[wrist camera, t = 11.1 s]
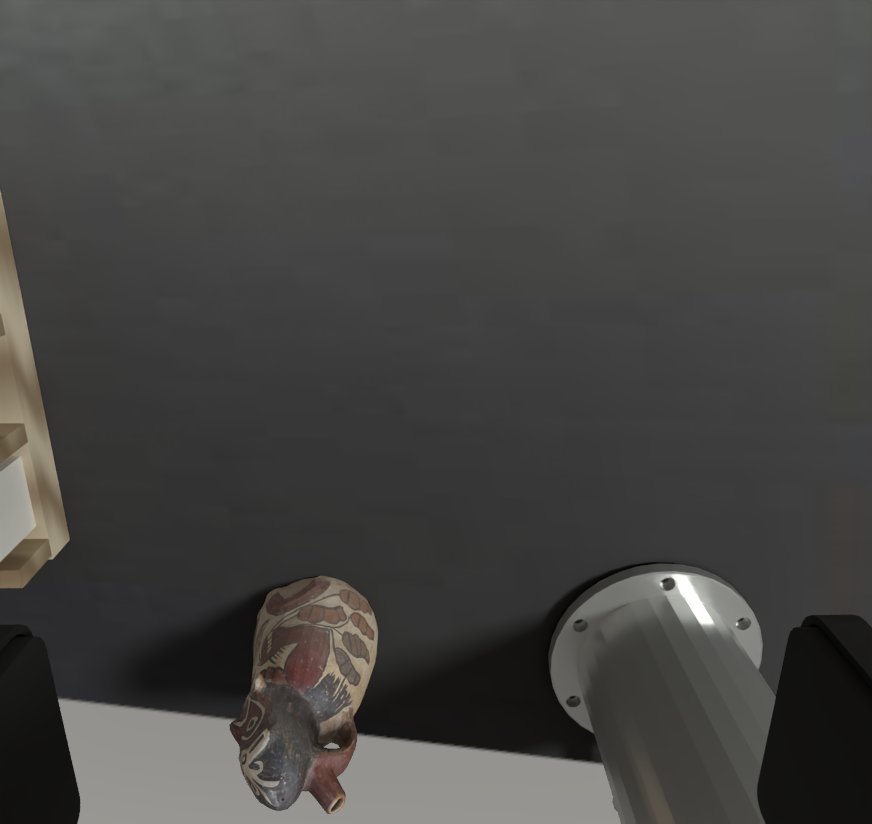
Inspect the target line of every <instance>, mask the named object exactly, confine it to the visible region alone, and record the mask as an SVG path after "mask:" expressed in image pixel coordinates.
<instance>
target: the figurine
mask: <svg viewBox="0 0 872 824" xmlns="http://www.w3.org/2000/svg"><path fill="white" fill-rule="evenodd" d="M377 640H378V628H377V624H376V620H375V616H374V613H373V611H372V609H371V607H370V605H369V603H368V601H367V599H366V598H365V597H363V596H362V595H361V594H360V593H359V592H357V591H356V590H355V589H354V588H352V587H351V586H350V585H348V584H347V583H345V582H343V581H341V580H338V579H335V578H332V577H327V576H318V577H315V578H308V579H302V580H299V581H297V582H294V583H291V584H290V585H288V586H286V587H282V588H277V589H274V590H273V591H271V592H269V593H268V595H267V597H266V600H265V603H264V605H263V607H262V608H261V609H260V611H259V614H258V616H257V625H256V629H255V633H254V640H253V660H254V665H253V673H252V683H251V691H250V693H249V695H248V696H247V698H246V700H245V701H244V705H243V711H242V714H241V716H240V717H239V718H238V719H236V720H235V721H233V722H232V723H231V724H230V730H231V733H232V735H233V736H234V738H235V740H236V741H237V742H238V744H239V746H240V755H239V761H240V766H241V770H242V773H243V775H244V777H245V779H246V781H247V783H248V785H249V787H250V788H251V790H252V792H253V793H254V795H255V797H256V798H257V799H258V800H259V802H260V803H262V804H264V805H265V806H267V807H269V808H270V809H273V810H279V811H281V810H285V809H288V808H289V807H290V806H291V805H292V804H293V803H294V802H295V801H296V800H297V798H298V797H299V795H300V793H301V791H309V792H310V793H311V794H312V795H313V796H314V797H315V798H316V800H317V801H318V802H319V804H320V805H321V806H322V807H323V809H324V810H325V811H326V812H327V813H328V814H333V813H336V812H338V811H339V810H340V809H341V808H342V807H343V805H344V802H345V792H344V790H343V789H342V787H341V785H340V783H339V781H338V779H337V778H336V777H337V776H339V775H340V774H341V773H343V771H344V770H345V769H346V767H347V766H348V763H349V761H350V759H351V757H352V755H353V752H354V750H355V747H356V742H357V731H356V727H355V724H354V719H353V716H354V714H355V713H356V711H357V709H358V708H359V706H360V704H361V701H362V699H363V696H364V694H365V691H366V688H367V685H368V682H369V679H370V676H371V673H372V670H373V667H374V664H375V659H376V653H377ZM331 742H332V743H335V744H338V745H339V747H340V748H338V749H327V748H324V746H326V745H328V744H329V743H331Z"/></svg>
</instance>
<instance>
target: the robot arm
mask: <svg viewBox="0 0 872 824" xmlns="http://www.w3.org/2000/svg"><path fill="white" fill-rule="evenodd" d="M762 647H763V643H762V637H761V630H760V627H759V624H758V622H757V620H756V617H755V615H754V613H753V611H752V610H751V608H750V607H749V606H748V604H747V603H746V601H745V600H744V598H743V597H742V596H741V595H740V594H739V593H738V592H737V591H736V590H735V589H734V588H733V587H732V585H730V584H729V583H727V582H726V581H724V580H723V579H721V578H720V577H718V576H717V575H714V574H712V573H710V572H707V571H705V570H702V569H700V568H696V567H691V566H686V565H681V564H652V565H644V566H637V567H634V568H631V569H627V570H624V571H621V572H618V573H616V574H614V575H611V576H609V577H607V578H605V579H603V580H601V581H599V582H598V583H596V584H595V585H593V586H592V587H591V588H589V589H588V590H586V591H585V592H583V593H582V594H581V595H580V596H579V597H578V598H577V599H576V600H575V601H574V602H573V603H572V604H571V605H570V606H569V607H568V609H567V610H566V612H565V613H564V615H563V616H562V617H561V619H560V620H559V622H558V624H557V626H556V629H555V631H554V633H553V636H552V638H551V643H550V648H549V654H548V659H549V673H550V676H551V681H552V685H553V689H554V691H555V693H556V696H557V698H558V701H559V703H560V704H561V705H562V707H563V708H564V710H565V711H566V712H567V714H568V715H569V716H570V717H571V718H572V719H573V720H575V721H576V722H577V723H578V724H579V725H580V726H582V727H583V728H585V729H587V730H588V731H590V732H592V733H594V735H595V738H596V741H597V745H598V748H599V751H600V755H601V758H602V761H603V765H604V768H605V771H606V775H607V778H608V781H609V785H610V788H611V791H612V795H613V805H614V808H615V810H616V811H617V812H618V815H619V818H620V821H621V824H872V627H871V626H870V625H869V624H868V623H867V622H866V621H865V620H863V619H862V618H861V617H860V616H856V615H811V616H808V617H806V618H805V620H804V621H803V622H802V625H801V627H796V628H793V629H792V631H791V632H790V635H789V638H788V642H787V647H786V652H785V656H784V661H783V666H782V671H781V675H780V680H779V685H778V690H777V694H776V697H775V695H774V694H773V692H772V691H771V689H770V688H769V686H768V685H767V683H766V681H765V680H764V678H763V677H762V675H761V674H760V672H759V671H758V670H759V667H760V664H761V659H762ZM79 813H80V796H79V791H78V787H77V782H76V778H75V773H74V769H73V765H72V760H71V756H70V751H69V747H68V742H67V739H66V734H65V730H64V725H63V721H62V716H61V712H60V707H59V703H58V698H57V694H56V689H55V685H54V680H53V676H52V672H51V667H50V663H49V658H48V654H47V649H46V646H45V643H44V641H43V640H42V639H41V638H40V637H33V635H32V633H31V631H30V629H29V628H28V627H27V626H24V625H0V824H77V822H78V818H79Z"/></svg>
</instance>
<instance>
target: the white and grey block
mask: <svg viewBox="0 0 872 824" xmlns="http://www.w3.org/2000/svg"><path fill="white" fill-rule="evenodd" d="M35 527H36V523H35V519H34V514H33V510H32V505H31V500H30V496H29V491H28V486H27V482H26V477H25V472H24V468H23V463H22V459H21V456H9V457H8V458H7V459H5V460H4V461H3V462H1V463H0V562H1V561H2V560H3V559H4V558H5V557H6V556H7V555H8V554H9V553H10V552H11V551H12V550H13V549H14V548H15V547H16V546H17V545H18V544H19V543H20V542H21V541H22V540H23V539H24V538H25V537H26V536H27V535H28V534H29V533H30V532H31V531H32V530H33V529H34V528H35Z"/></svg>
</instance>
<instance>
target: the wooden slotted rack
mask: <svg viewBox="0 0 872 824" xmlns="http://www.w3.org/2000/svg"><path fill="white" fill-rule="evenodd" d="M9 456H21V459H22V463H23V468H24V472H25V477H26V482H27V486H28V491H29V496H30V500H31V505H32V510H33V514H34V519H35V523H36V527H35V528H34V529H33V530H32V531H31V532H30V533H29V534H28V535H27V536H26V537H25V538H24V539H23V540H22V541H21V542H20V543H19V544H18V545H17V546H16V547H15V548H14V549H13V550H12V551H11V552H10V553H9V554H8V555H7V556H6V557H5V558H4V559H3V560H2V561H1V562H0V588H23V587H24V586H25V585H26V584H27V583H28V581H29V580H30V579H31V578H32V577H33V576H34V575H35V574H36V572H37V571H38V570H39V569H40V568H41V567H42V566H43V565H44V563H45V562H46V561H47V560H48V559H53V558H54V557H55V556H56V555H57V554H58V553H59V552H60V550H61V549H62V548H63V547H64V546H65V545H66V544H67V542H68V541H69V540H70V538H69V533H68V528H67V523H66V518H65V513H64V508H63V503H62V498H61V493H60V488H59V483H58V478H57V473H56V468H55V463H54V458H53V453H52V447H51V442H50V437H49V432H48V427H47V422H46V417H45V412H44V407H43V402H42V397H41V392H40V387H39V382H38V377H37V372H36V367H35V362H34V357H33V352H32V347H31V342H30V337H29V332H28V327H27V322H26V317H25V312H24V307H23V302H22V296H21V291H20V286H19V281H18V276H17V271H16V266H15V261H14V256H13V251H12V246H11V241H10V236H9V231H8V226H7V221H6V216H5V211H4V206H3V201H2V196H1V191H0V463H1V462H3V461H4V460H5V459H7V458H8V457H9Z"/></svg>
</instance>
